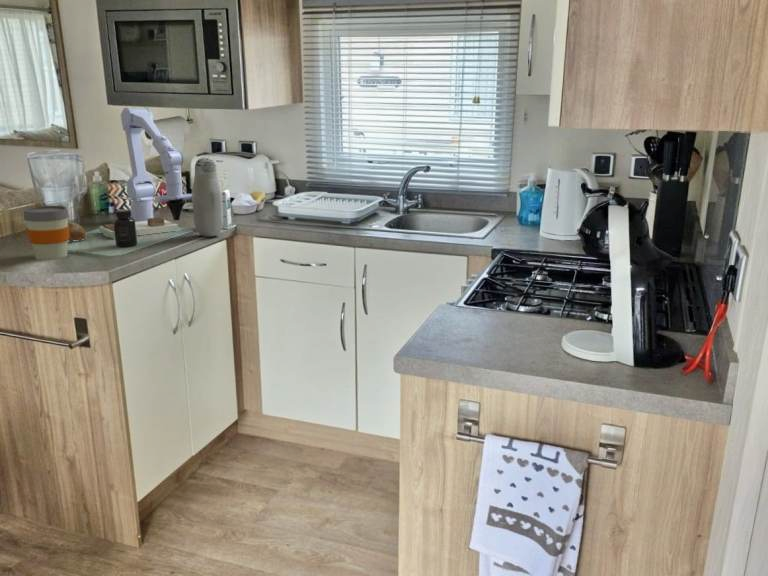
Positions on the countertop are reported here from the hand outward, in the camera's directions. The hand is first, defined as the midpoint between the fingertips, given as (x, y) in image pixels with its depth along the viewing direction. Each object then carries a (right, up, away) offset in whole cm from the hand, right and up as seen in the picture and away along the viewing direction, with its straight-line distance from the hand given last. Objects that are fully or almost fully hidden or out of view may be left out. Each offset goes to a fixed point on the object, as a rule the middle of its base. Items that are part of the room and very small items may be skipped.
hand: (176, 219), depth 252 cm
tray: (-18, -6, -9) cm, 21 cm away
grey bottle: (+15, -7, -10) cm, 19 cm away
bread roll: (-31, -9, -18) cm, 37 cm away
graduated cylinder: (+16, -3, +5) cm, 17 cm away
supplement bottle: (-9, -11, -26) cm, 30 cm away
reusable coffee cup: (-26, -16, -42) cm, 52 cm away
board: (-9, -4, -1) cm, 10 cm away
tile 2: (-6, -3, -5) cm, 8 cm away
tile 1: (-21, -3, -8) cm, 23 cm away
